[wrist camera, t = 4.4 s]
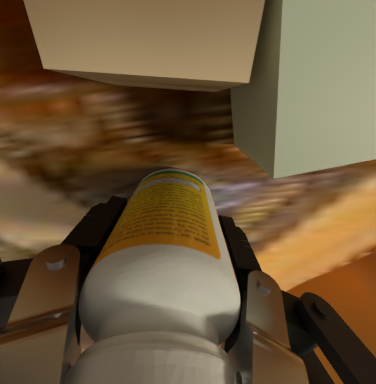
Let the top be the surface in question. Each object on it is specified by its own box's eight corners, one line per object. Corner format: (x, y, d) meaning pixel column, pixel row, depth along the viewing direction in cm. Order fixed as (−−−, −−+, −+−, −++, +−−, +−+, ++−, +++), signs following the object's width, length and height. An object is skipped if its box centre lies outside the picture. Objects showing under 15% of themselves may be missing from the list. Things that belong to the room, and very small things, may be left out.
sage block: (225, 34, 7) (285, -58, 3) (341, 4, 7) (598, -154, 3) (233, 144, 10) (273, 178, 5) (320, 125, 9) (438, 147, 5)
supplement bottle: (224, 209, 12) (320, 461, 4) (165, 240, 13) (136, 476, 5) (183, 148, 10) (184, 438, 1) (117, 192, 11) (-86, 476, 3)
